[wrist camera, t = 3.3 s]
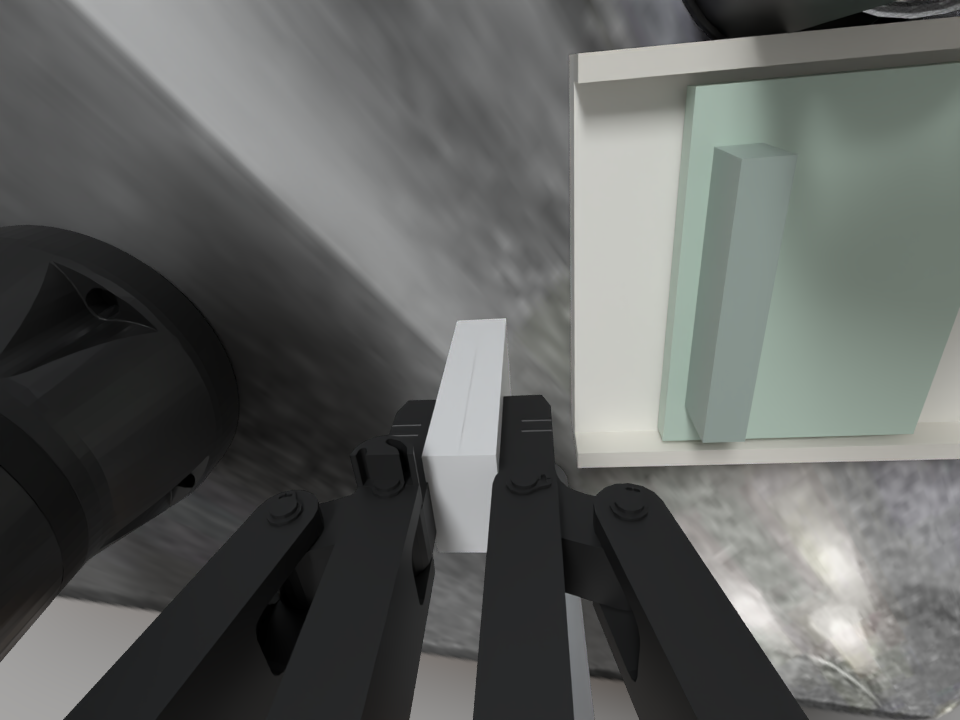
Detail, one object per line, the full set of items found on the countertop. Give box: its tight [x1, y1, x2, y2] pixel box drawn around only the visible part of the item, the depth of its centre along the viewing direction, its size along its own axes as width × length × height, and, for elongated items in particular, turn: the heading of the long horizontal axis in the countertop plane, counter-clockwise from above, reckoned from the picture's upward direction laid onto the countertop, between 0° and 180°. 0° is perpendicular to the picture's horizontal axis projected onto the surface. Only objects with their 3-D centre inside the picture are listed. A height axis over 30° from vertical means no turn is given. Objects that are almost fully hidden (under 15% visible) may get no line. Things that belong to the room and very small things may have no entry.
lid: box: [658, 61, 960, 443], centre depth 19 cm, size 10×14×4 cm
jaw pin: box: [555, 463, 595, 720], centre depth 24 cm, size 4×4×12 cm
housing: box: [569, 16, 960, 468], centre depth 20 cm, size 24×16×4 cm, turn 95°
